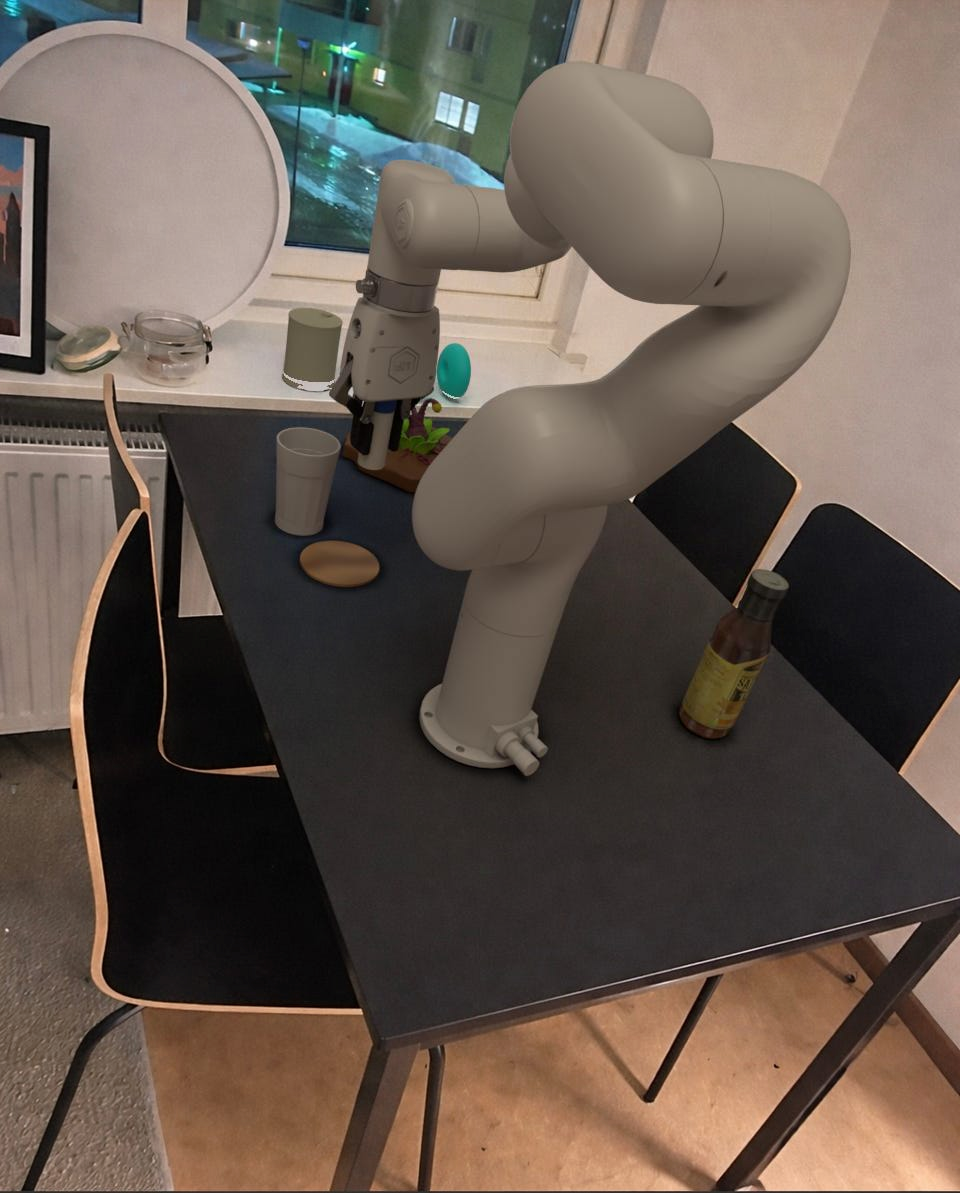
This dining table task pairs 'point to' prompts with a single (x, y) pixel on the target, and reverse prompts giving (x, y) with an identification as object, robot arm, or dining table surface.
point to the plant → (408, 450)
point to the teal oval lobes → (453, 370)
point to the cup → (304, 478)
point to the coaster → (339, 563)
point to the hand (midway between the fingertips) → (374, 446)
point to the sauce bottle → (733, 658)
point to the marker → (379, 435)
